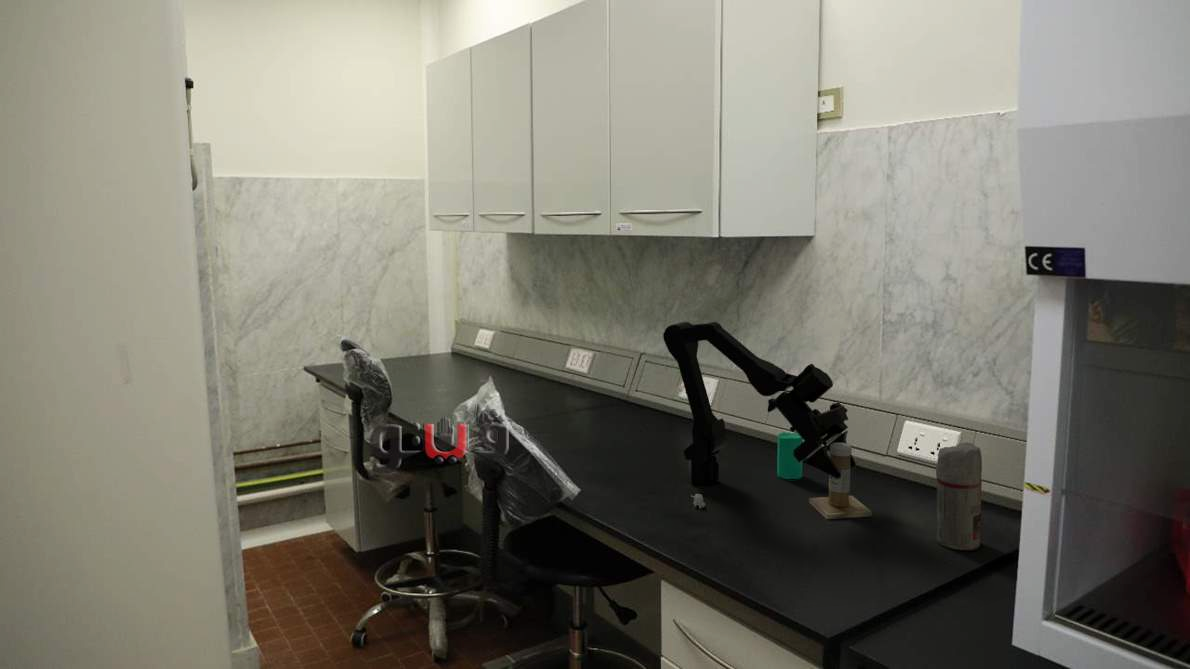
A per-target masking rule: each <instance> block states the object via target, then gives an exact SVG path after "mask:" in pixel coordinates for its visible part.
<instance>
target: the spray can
mask: <svg viewBox="0 0 1190 669" xmlns="http://www.w3.org/2000/svg"><path fill="white" fill-rule="evenodd" d="M937 454H938V455H937V463H936V467H935V476H936V542H937V544H939V545H940V546H942V547H945V548H948V549H951V550H952V549H953V550H954V551H976V550H977V549H979V548H980V547H981V546H980V545H981V529H982V528H981V526H982V525H981V524H982V521H981V519H982V518H981V516H982V515H981V514H982V491H983V490H982V484H983V483H982V471H983V464H982V463H983V459H982V452H981V448H980V447H978V446H977V445H975V444H973V442H962V443H958V444H956V445H953V446H945V447H940V448H939V450H938V453H937Z"/></svg>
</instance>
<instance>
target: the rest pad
mask: <svg viewBox="0 0 1190 669" xmlns="http://www.w3.org/2000/svg"><path fill="white" fill-rule="evenodd" d="M808 499H809V500H808V503H809V504H810V505H811V506H812V507H813V506H814V507H815V508H814V507H813V508H814V509H815V510H816V511H817V512H819V513H820V514H821V515H822V516H823V517H824V518H825V519H826V520H833V519H835V520H836V519H837V520H838V519H850V518H864V517H865V518H866V517H872V516H873V511H872V510H871V509H869V508H868V507H867V506H865V504H863V503H862V502H860V501H859V500H858V499H857V498H856V497H854V495H849V505H848V506H846V507H835V506H832V505H830V504H829V503H828V500H829V496H826V497H825V496H824V497H823V496H821V497H809V498H808Z"/></svg>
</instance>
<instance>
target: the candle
mask: <svg viewBox="0 0 1190 669" xmlns="http://www.w3.org/2000/svg"><path fill="white" fill-rule="evenodd" d="M802 442H804V440H803V439H802V438H801V436H800V435H799V434H798V433H797V432H792V431H791V430H790V429H789V432H786V431H783V432H781V433H778V435H777V458H776V459H777V461H776V463H777V464H776V466H777V469H776V471H777V472H776V476H777V475H778V476H779V477H781V478H784V479H798V480H800V479H799V478H801V477H802V478H803V460H802V461H801V462H798V461H797V460H796V458H795V457H794V456H793V450H794V449H795V448H797V447H798V446H799V445H800V444H801V443H802ZM778 476H777V477H778ZM779 477H778V478H779ZM781 478H780V479H781ZM802 478H801V479H802ZM784 479H783V480H784Z"/></svg>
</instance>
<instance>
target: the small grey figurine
mask: <svg viewBox="0 0 1190 669" xmlns="http://www.w3.org/2000/svg"><path fill="white" fill-rule="evenodd" d="M690 497H692V498H694V499H693V501H692V504H693V505H694V508H695V507H697V506H699V509H700V508H701V509H702V508H703V507H704V506H705V507H706V503H705V502H704V498H703V494H699V493H695V494H694V495H690ZM701 506H702V507H701ZM705 507H704V508H705Z"/></svg>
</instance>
